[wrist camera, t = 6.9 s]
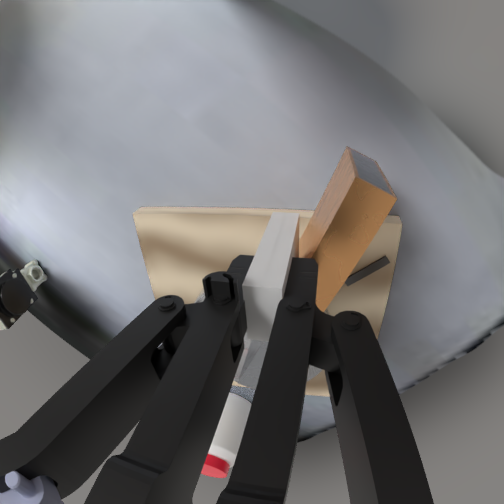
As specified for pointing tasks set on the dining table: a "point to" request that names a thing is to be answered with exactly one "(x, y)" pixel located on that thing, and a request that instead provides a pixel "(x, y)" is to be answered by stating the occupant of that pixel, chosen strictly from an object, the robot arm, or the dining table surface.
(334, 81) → the dining table surface
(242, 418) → the pill bottle
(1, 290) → the pneumatic valve
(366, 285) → the light wood square board
